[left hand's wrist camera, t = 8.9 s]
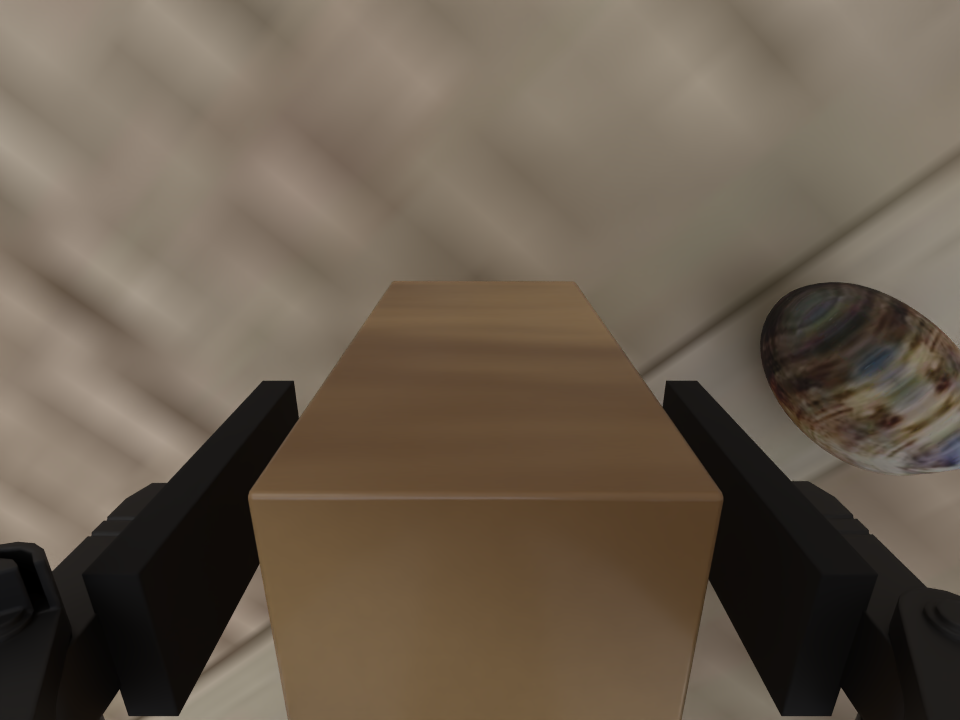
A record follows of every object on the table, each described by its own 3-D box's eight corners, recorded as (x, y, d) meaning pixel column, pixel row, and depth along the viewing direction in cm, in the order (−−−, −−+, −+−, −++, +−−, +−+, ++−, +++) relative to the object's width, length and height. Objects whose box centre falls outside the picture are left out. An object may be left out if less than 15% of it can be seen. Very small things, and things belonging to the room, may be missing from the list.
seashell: (919, 375, 25) (1107, 471, 17) (811, 452, 26) (942, 571, 19) (803, 225, 23) (963, 263, 15) (692, 319, 24) (787, 396, 17)
